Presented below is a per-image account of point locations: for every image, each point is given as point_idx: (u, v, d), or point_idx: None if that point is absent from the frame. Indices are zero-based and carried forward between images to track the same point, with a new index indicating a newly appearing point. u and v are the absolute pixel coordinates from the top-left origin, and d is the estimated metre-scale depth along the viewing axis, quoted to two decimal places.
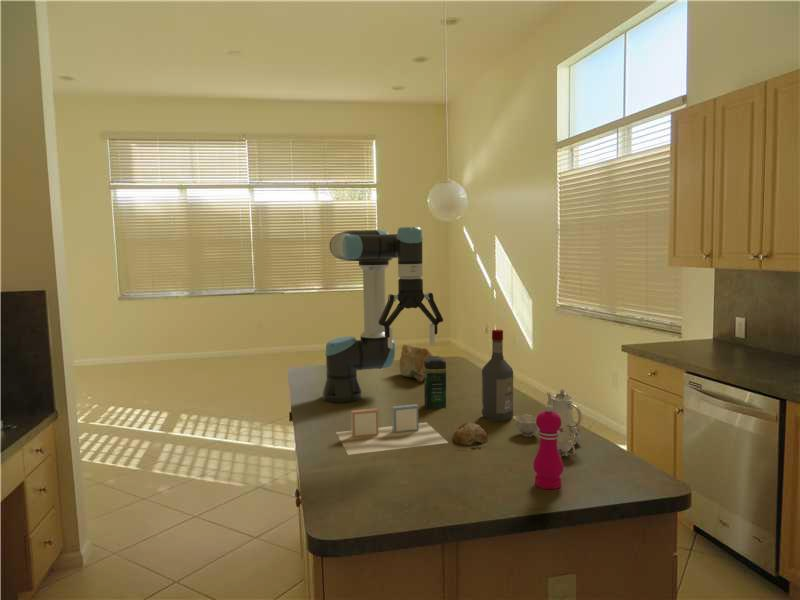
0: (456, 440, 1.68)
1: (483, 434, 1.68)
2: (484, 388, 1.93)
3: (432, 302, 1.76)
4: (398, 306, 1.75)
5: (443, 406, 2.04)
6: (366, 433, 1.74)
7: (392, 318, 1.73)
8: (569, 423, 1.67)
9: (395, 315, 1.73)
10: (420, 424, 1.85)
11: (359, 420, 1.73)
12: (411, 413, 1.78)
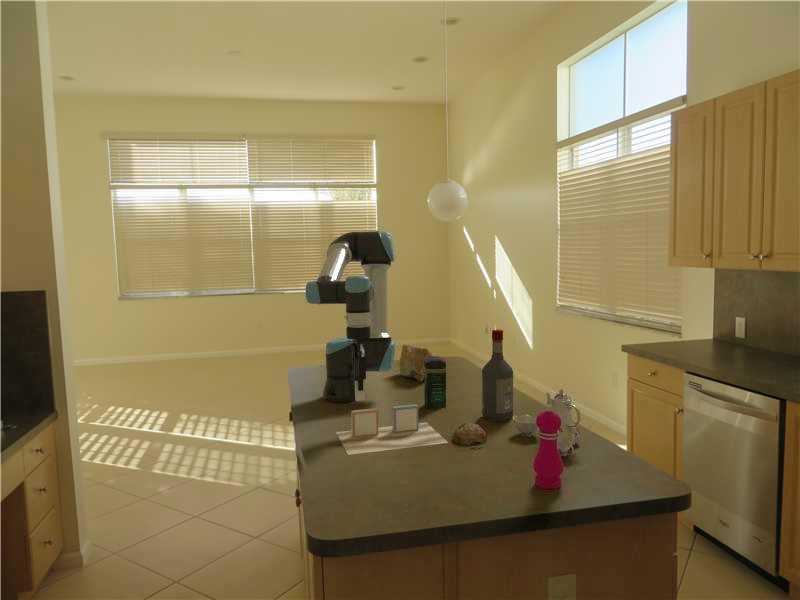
0: (455, 440, 1.68)
1: (482, 434, 1.68)
2: (484, 388, 1.93)
3: (358, 358, 1.74)
4: None
5: (443, 406, 2.04)
6: (366, 433, 1.74)
7: (354, 369, 1.80)
8: (568, 423, 1.67)
9: (354, 365, 1.80)
10: (420, 424, 1.85)
11: (359, 420, 1.73)
12: (411, 413, 1.78)
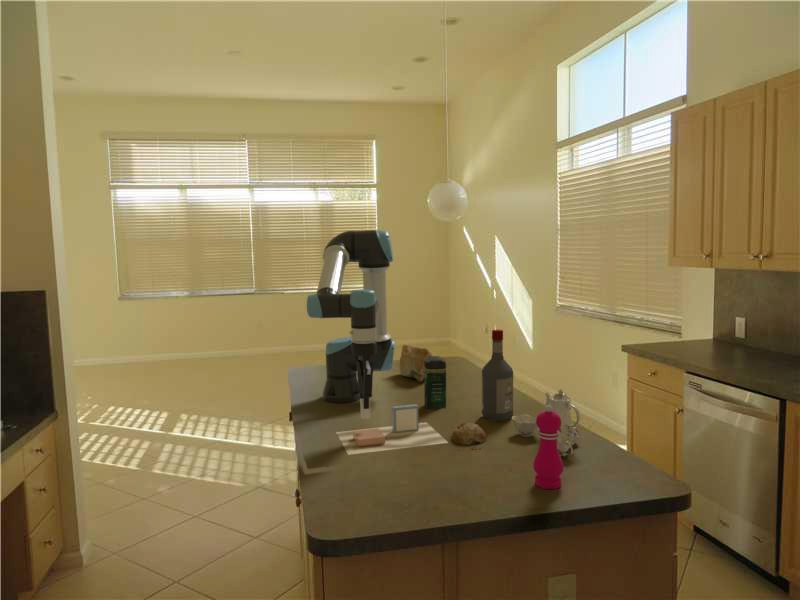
0: (455, 440, 1.69)
1: (482, 434, 1.68)
2: (484, 388, 1.93)
3: (364, 376, 1.67)
4: None
5: (443, 406, 2.04)
6: None
7: (359, 386, 1.73)
8: (567, 423, 1.67)
9: (360, 382, 1.73)
10: (420, 424, 1.85)
11: None
12: (411, 413, 1.78)
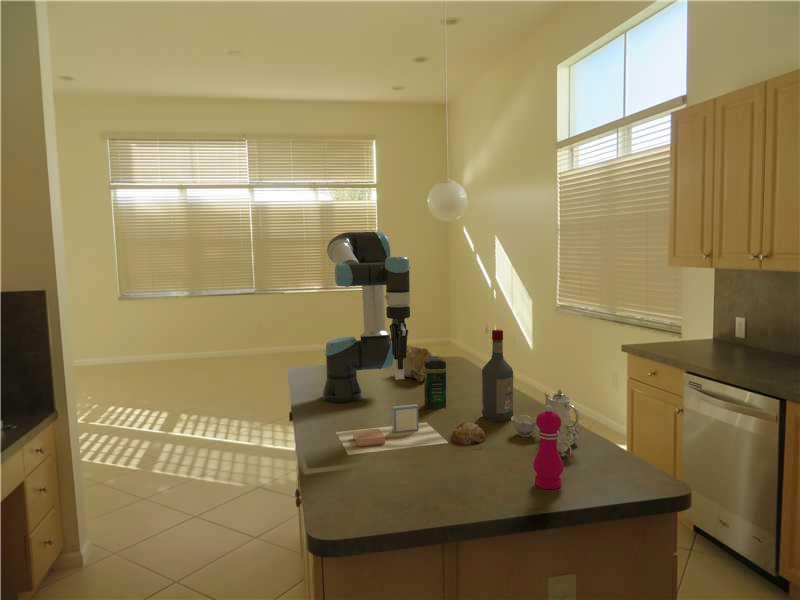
0: (454, 439, 1.69)
1: (481, 433, 1.69)
2: (484, 388, 1.93)
3: (399, 337, 1.77)
4: None
5: (443, 406, 2.04)
6: None
7: (394, 348, 1.83)
8: (566, 423, 1.67)
9: (394, 344, 1.83)
10: (420, 424, 1.85)
11: None
12: (411, 413, 1.78)
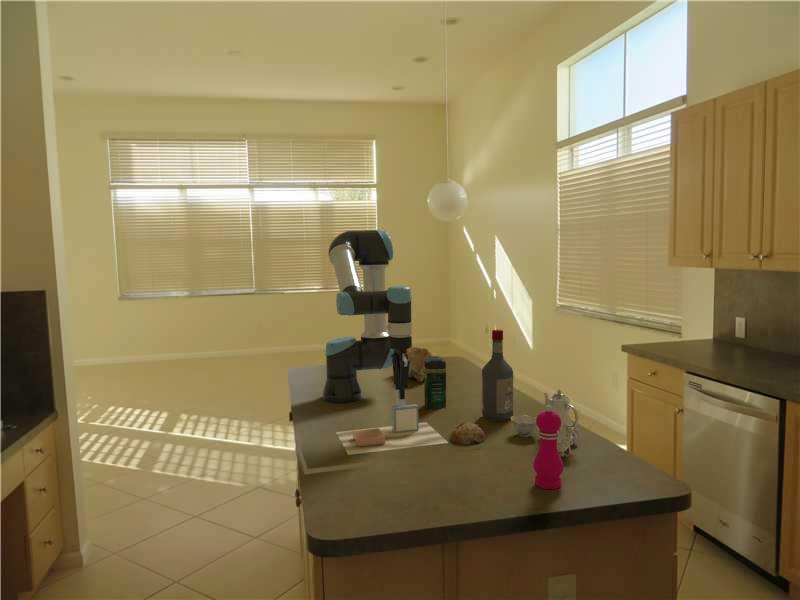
0: (454, 439, 1.69)
1: (481, 433, 1.69)
2: (484, 388, 1.93)
3: (400, 368, 1.77)
4: None
5: (443, 406, 2.04)
6: None
7: (395, 378, 1.83)
8: (566, 423, 1.67)
9: (395, 374, 1.83)
10: (420, 424, 1.85)
11: None
12: (411, 413, 1.78)
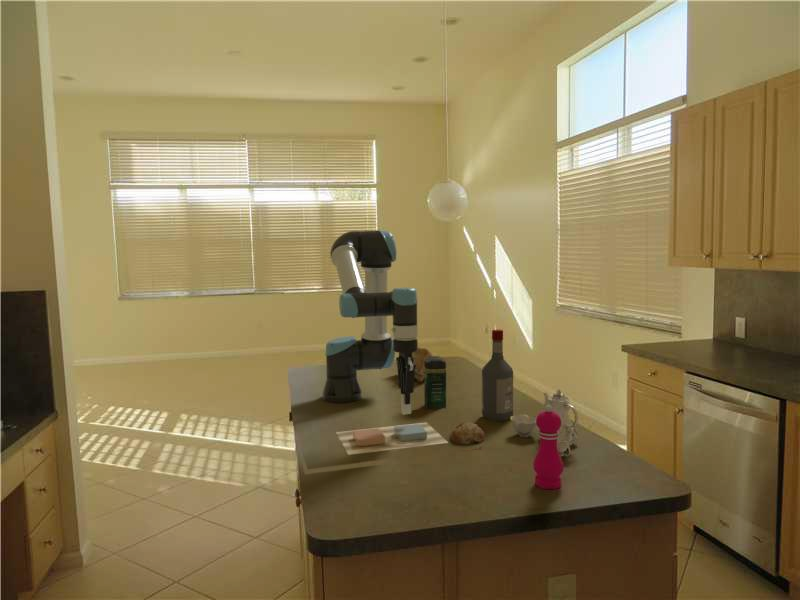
0: (453, 439, 1.69)
1: (480, 433, 1.69)
2: (484, 388, 1.93)
3: (406, 372, 1.71)
4: None
5: (443, 406, 2.04)
6: None
7: (400, 382, 1.77)
8: (565, 424, 1.67)
9: (400, 378, 1.77)
10: (420, 424, 1.85)
11: None
12: None
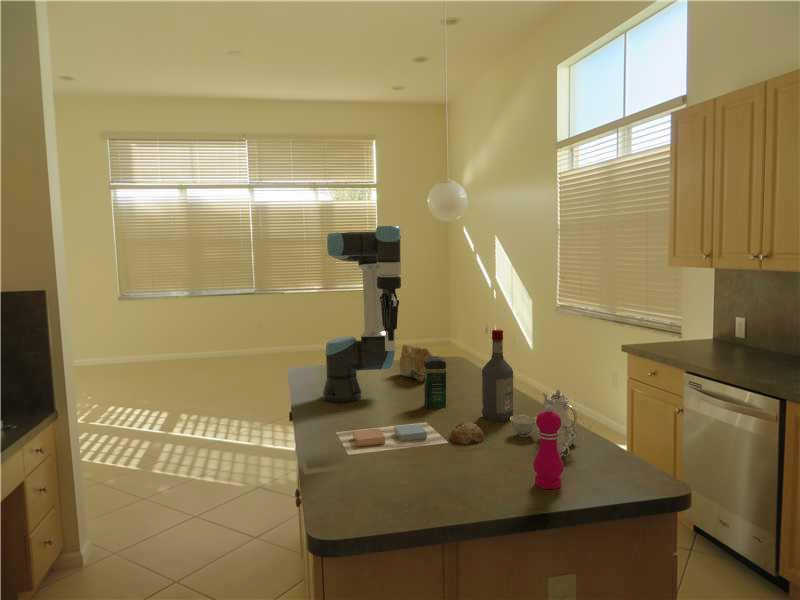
0: (453, 439, 1.69)
1: (480, 433, 1.69)
2: (484, 388, 1.93)
3: (389, 308, 1.74)
4: None
5: (443, 406, 2.04)
6: None
7: (384, 319, 1.80)
8: (565, 424, 1.67)
9: (384, 315, 1.80)
10: (420, 424, 1.85)
11: None
12: None
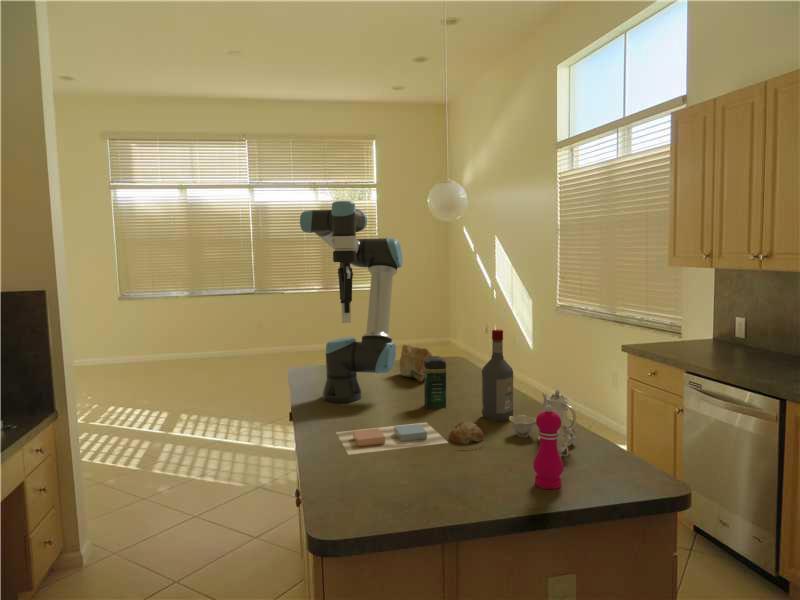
0: (452, 439, 1.69)
1: (479, 433, 1.69)
2: (484, 388, 1.93)
3: (344, 280, 1.80)
4: None
5: (443, 406, 2.04)
6: None
7: (341, 292, 1.86)
8: (564, 424, 1.67)
9: (341, 289, 1.86)
10: (420, 424, 1.85)
11: None
12: None
